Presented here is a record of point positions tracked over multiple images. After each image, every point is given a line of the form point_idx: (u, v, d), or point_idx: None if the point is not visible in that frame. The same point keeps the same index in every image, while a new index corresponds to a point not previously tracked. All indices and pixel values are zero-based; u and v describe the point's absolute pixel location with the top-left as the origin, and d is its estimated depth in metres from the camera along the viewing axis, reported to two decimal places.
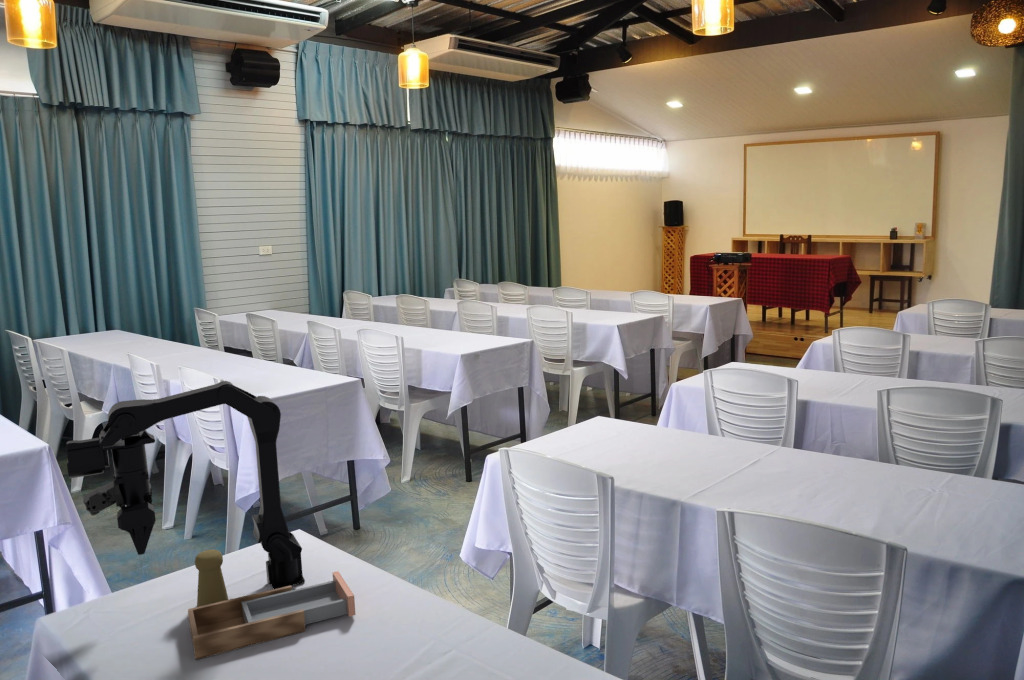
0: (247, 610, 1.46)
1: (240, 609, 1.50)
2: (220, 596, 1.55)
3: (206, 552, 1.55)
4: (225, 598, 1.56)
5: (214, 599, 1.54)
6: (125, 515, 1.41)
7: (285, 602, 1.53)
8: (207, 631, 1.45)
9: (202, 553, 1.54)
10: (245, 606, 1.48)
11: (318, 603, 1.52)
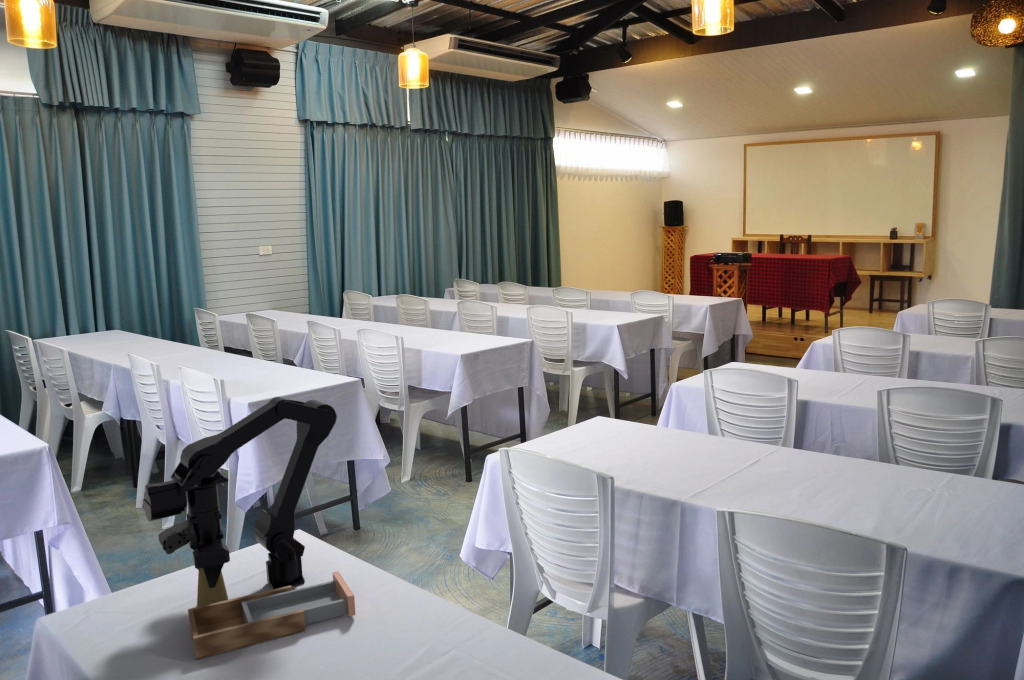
0: (247, 610, 1.46)
1: (240, 609, 1.50)
2: (220, 596, 1.55)
3: None
4: (225, 598, 1.56)
5: (214, 599, 1.54)
6: (202, 555, 1.45)
7: (285, 602, 1.53)
8: (207, 631, 1.45)
9: None
10: (245, 606, 1.48)
11: (318, 603, 1.52)
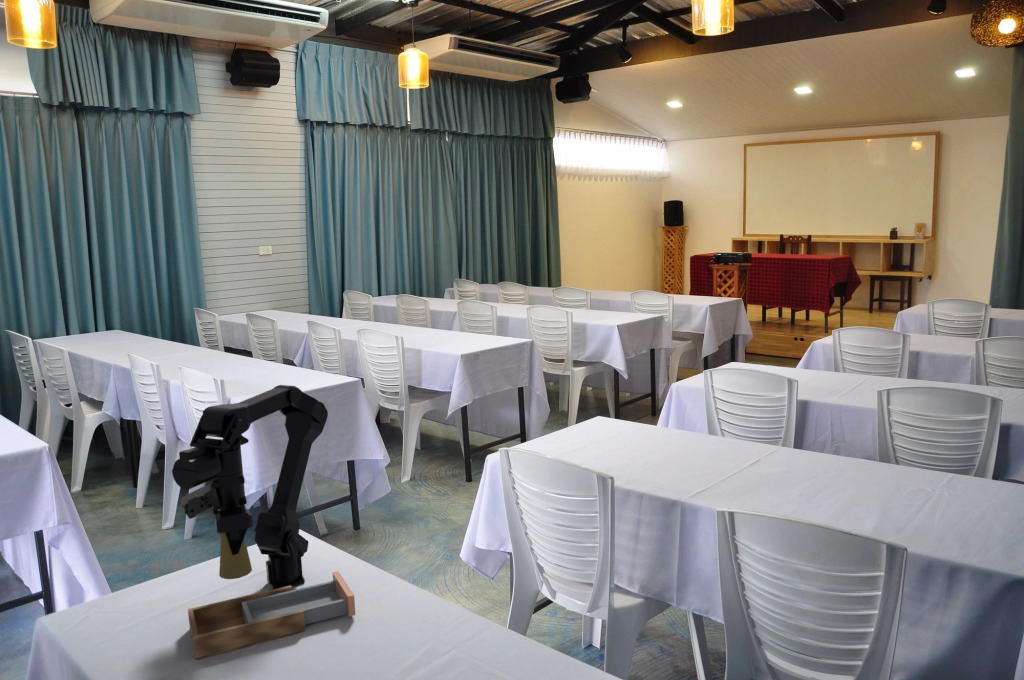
0: (247, 610, 1.46)
1: (240, 609, 1.50)
2: (243, 563, 1.50)
3: None
4: (248, 566, 1.51)
5: (236, 567, 1.49)
6: (224, 519, 1.40)
7: (285, 602, 1.53)
8: (207, 631, 1.45)
9: None
10: (245, 606, 1.48)
11: (318, 603, 1.52)
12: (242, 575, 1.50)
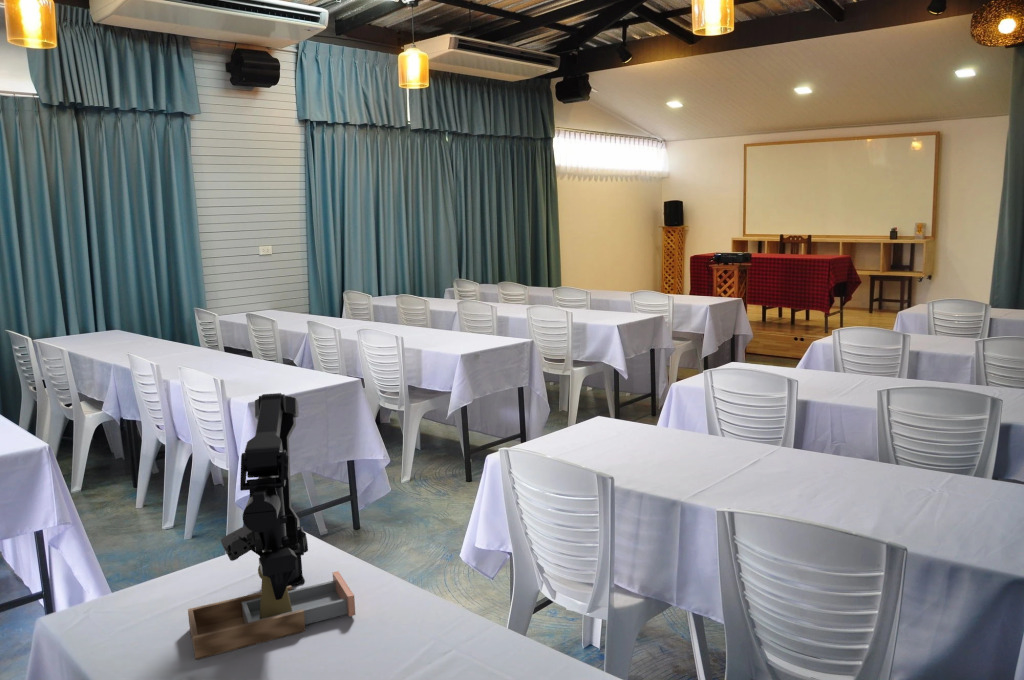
0: (247, 610, 1.46)
1: (240, 609, 1.50)
2: (285, 607, 1.46)
3: None
4: (289, 609, 1.48)
5: (278, 610, 1.46)
6: (270, 561, 1.37)
7: None
8: (207, 631, 1.45)
9: None
10: (245, 606, 1.48)
11: (318, 603, 1.52)
12: None
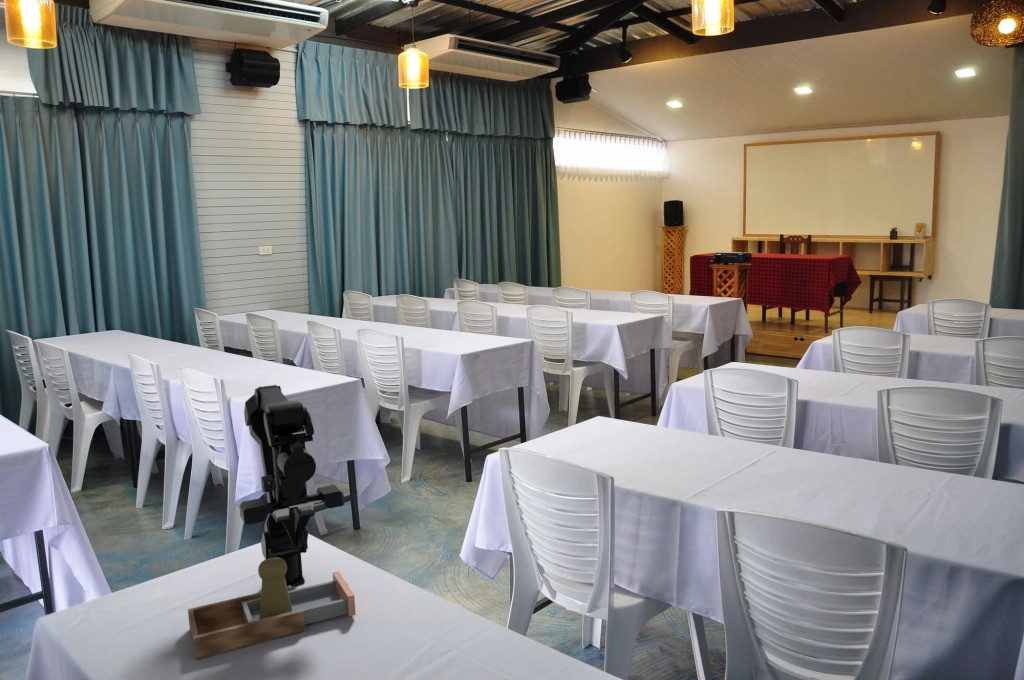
0: (247, 610, 1.46)
1: (240, 609, 1.50)
2: (285, 607, 1.46)
3: (270, 560, 1.46)
4: (289, 609, 1.48)
5: (278, 610, 1.46)
6: (240, 504, 1.47)
7: None
8: (207, 631, 1.45)
9: (266, 561, 1.46)
10: (245, 606, 1.48)
11: (318, 603, 1.52)
12: None
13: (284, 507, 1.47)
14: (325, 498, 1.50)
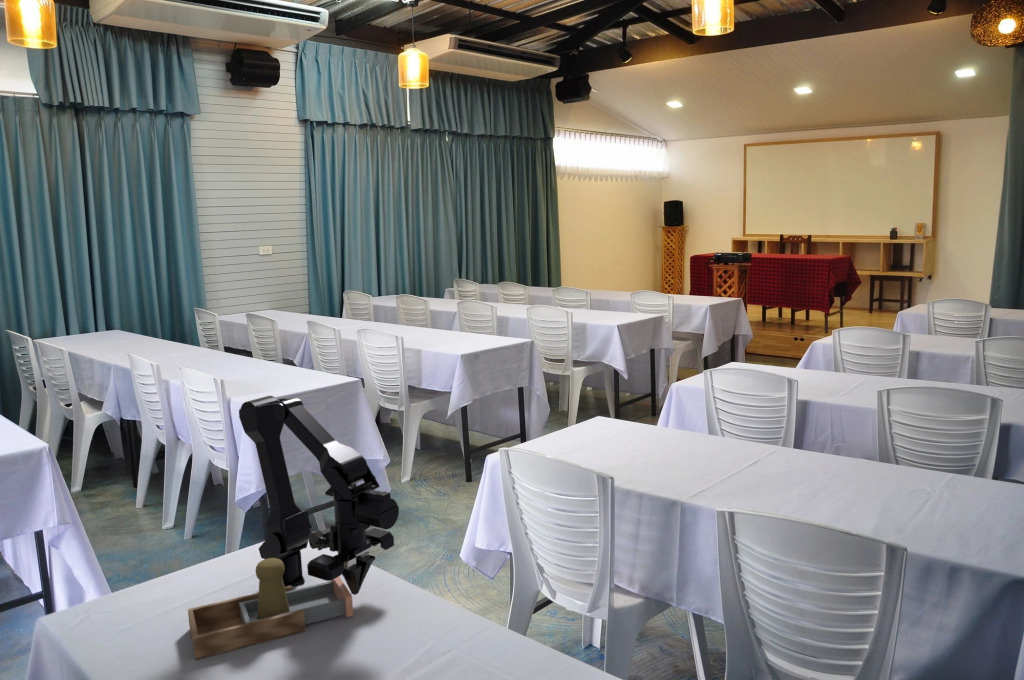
0: (245, 611, 1.46)
1: None
2: (282, 607, 1.46)
3: (267, 561, 1.46)
4: (287, 609, 1.47)
5: (276, 611, 1.45)
6: (311, 563, 1.47)
7: None
8: (207, 631, 1.45)
9: (263, 562, 1.46)
10: (243, 607, 1.48)
11: (316, 604, 1.52)
12: None
13: (352, 557, 1.51)
14: (382, 541, 1.57)
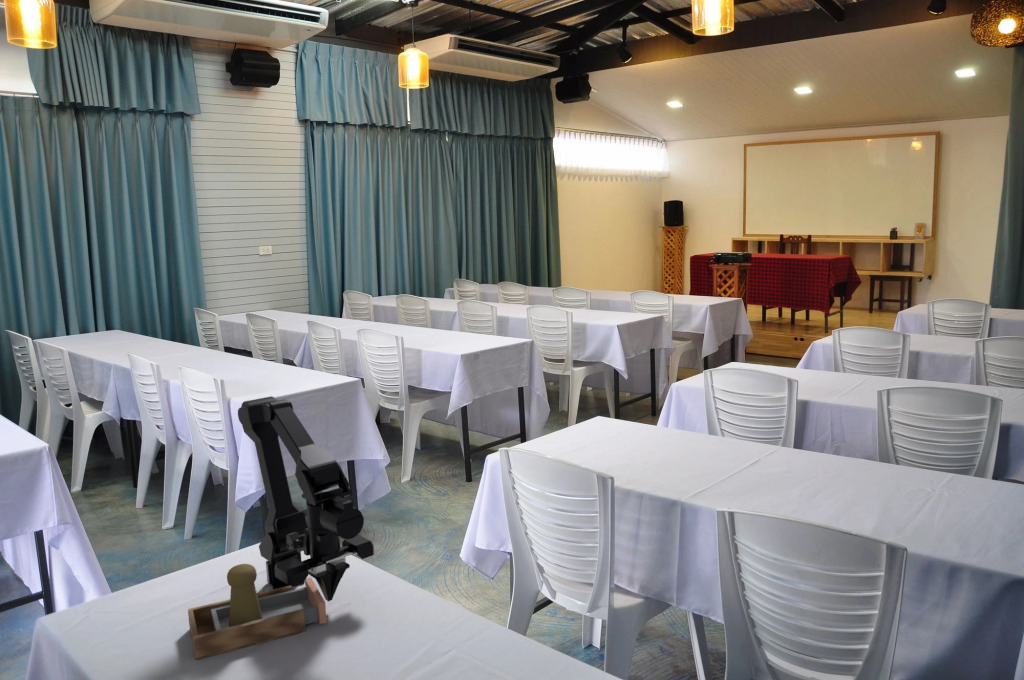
0: (216, 617, 1.44)
1: None
2: (254, 614, 1.44)
3: (239, 567, 1.44)
4: (259, 616, 1.45)
5: (247, 618, 1.43)
6: (277, 565, 1.46)
7: None
8: (207, 631, 1.45)
9: (235, 568, 1.44)
10: (214, 613, 1.45)
11: (289, 610, 1.50)
12: None
13: (321, 563, 1.49)
14: (358, 549, 1.53)
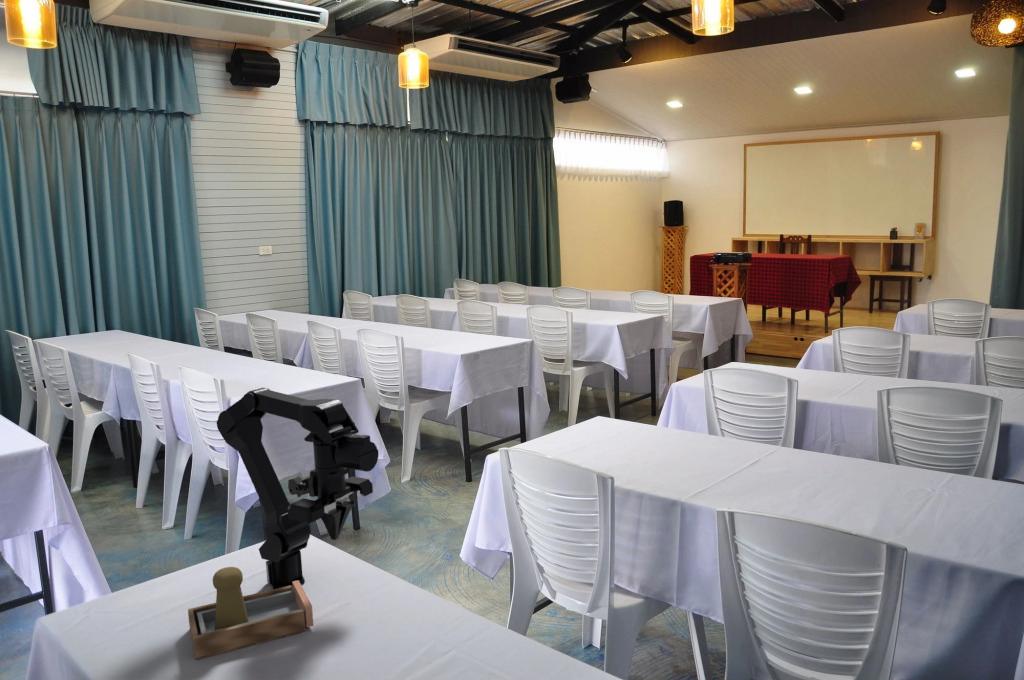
0: (201, 621, 1.43)
1: None
2: (240, 617, 1.43)
3: (225, 570, 1.43)
4: (245, 619, 1.44)
5: (233, 621, 1.42)
6: (291, 507, 1.48)
7: None
8: None
9: (220, 571, 1.43)
10: (200, 617, 1.44)
11: (276, 614, 1.49)
12: None
13: (332, 501, 1.53)
14: (361, 487, 1.59)
